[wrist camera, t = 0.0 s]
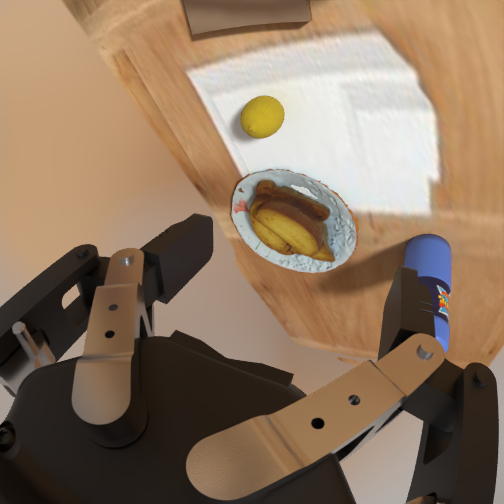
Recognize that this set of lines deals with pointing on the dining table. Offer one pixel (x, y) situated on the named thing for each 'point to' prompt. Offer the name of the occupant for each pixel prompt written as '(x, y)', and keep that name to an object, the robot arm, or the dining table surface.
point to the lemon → (262, 117)
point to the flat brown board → (243, 13)
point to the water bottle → (433, 276)
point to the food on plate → (294, 221)
